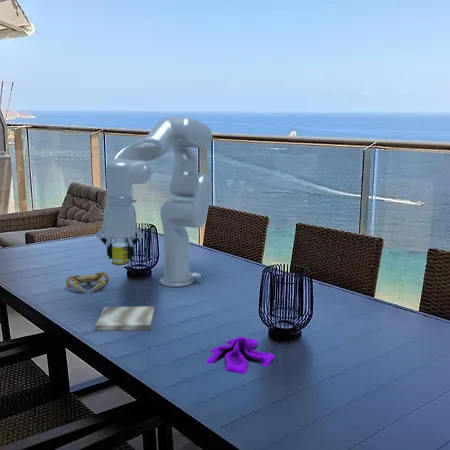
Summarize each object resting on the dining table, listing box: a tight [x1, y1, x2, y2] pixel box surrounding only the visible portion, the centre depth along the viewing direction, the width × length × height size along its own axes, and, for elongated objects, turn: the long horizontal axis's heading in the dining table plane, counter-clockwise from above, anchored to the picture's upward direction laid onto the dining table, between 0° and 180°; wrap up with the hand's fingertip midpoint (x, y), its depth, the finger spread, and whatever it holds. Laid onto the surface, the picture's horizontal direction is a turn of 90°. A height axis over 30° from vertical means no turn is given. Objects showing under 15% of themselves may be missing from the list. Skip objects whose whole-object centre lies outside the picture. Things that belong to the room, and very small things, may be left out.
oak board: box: [94, 306, 155, 331], centre depth 166 cm, size 16×16×2 cm
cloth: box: [205, 336, 276, 375], centre depth 141 cm, size 22×19×6 cm
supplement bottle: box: [111, 237, 130, 268], centre depth 170 cm, size 5×5×10 cm
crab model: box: [65, 271, 110, 294], centre depth 197 cm, size 16×13×6 cm
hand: (120, 257), depth 171 cm, fingers closed on supplement bottle, 5 cm apart
